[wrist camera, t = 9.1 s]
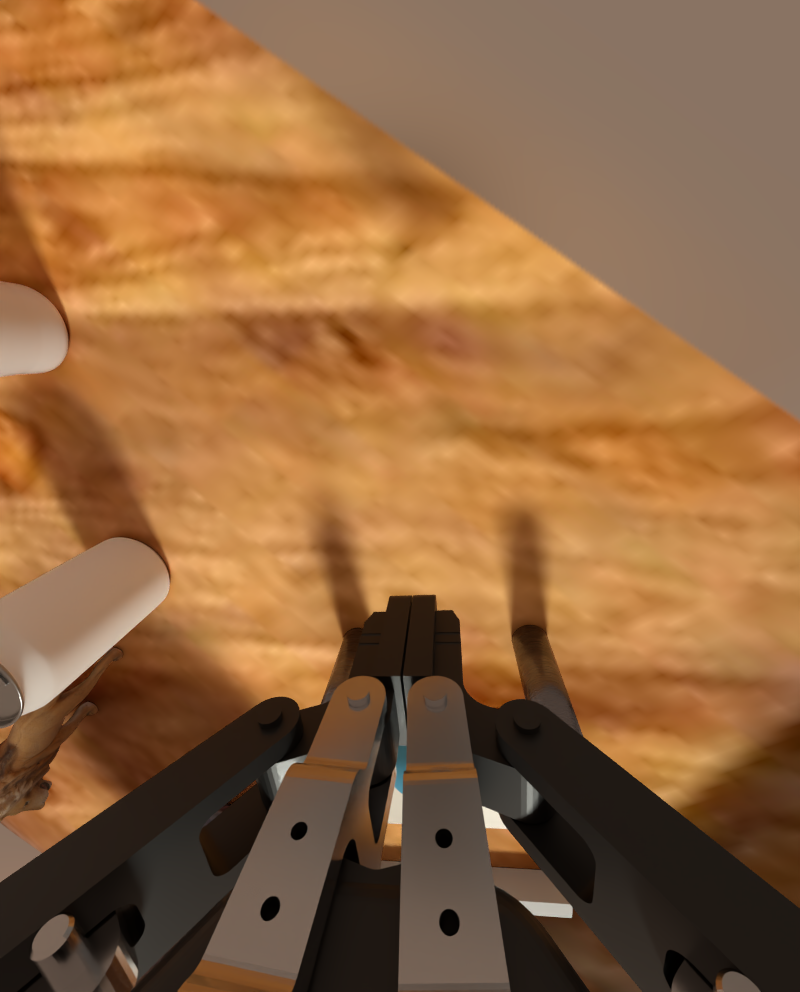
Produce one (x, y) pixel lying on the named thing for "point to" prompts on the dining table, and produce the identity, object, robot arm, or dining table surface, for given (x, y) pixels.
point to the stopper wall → (526, 890)
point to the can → (73, 620)
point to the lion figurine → (42, 744)
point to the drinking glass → (29, 332)
